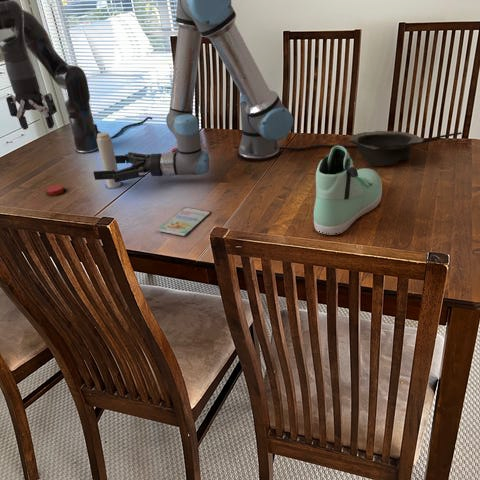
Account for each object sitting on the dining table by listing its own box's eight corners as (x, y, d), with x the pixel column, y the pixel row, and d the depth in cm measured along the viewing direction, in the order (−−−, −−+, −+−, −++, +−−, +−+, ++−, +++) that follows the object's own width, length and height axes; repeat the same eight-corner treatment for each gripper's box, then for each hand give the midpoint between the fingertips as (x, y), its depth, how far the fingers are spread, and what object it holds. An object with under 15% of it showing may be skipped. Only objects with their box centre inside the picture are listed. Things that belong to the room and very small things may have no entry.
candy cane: (151, 162, 180) (151, 158, 180) (178, 149, 190) (177, 145, 190) (163, 165, 177) (162, 161, 176) (189, 151, 187) (189, 147, 187)
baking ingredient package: (157, 229, 135) (185, 206, 146) (157, 231, 135) (185, 208, 146) (183, 235, 131) (210, 211, 142) (183, 236, 131) (210, 212, 143)
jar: (106, 188, 163) (94, 136, 153) (108, 183, 167) (96, 132, 157) (120, 187, 163) (109, 135, 154) (121, 181, 167) (110, 130, 158)
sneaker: (389, 187, 148) (396, 123, 138) (356, 242, 123) (361, 168, 112) (346, 181, 154) (350, 119, 144) (306, 232, 129) (307, 161, 118)
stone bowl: (381, 177, 154) (382, 149, 150) (333, 159, 175) (333, 134, 170) (437, 158, 163) (440, 131, 159) (386, 143, 183) (387, 119, 179)
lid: (57, 187, 167) (55, 183, 166) (67, 190, 164) (66, 186, 163) (44, 194, 163) (43, 189, 162) (55, 196, 160) (54, 192, 159)
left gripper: (-7, 80, 141) (11, 133, 149) (38, 77, 139) (54, 131, 147) (6, 74, 147) (23, 125, 156) (50, 71, 145) (64, 123, 154)
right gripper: (157, 191, 151) (91, 193, 153) (170, 161, 173) (113, 163, 174) (153, 169, 148) (86, 172, 149) (167, 141, 169) (108, 144, 170)
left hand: (38, 128), depth 152 cm, fingers open, 8 cm apart
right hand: (100, 167), depth 162 cm, fingers open, 13 cm apart
